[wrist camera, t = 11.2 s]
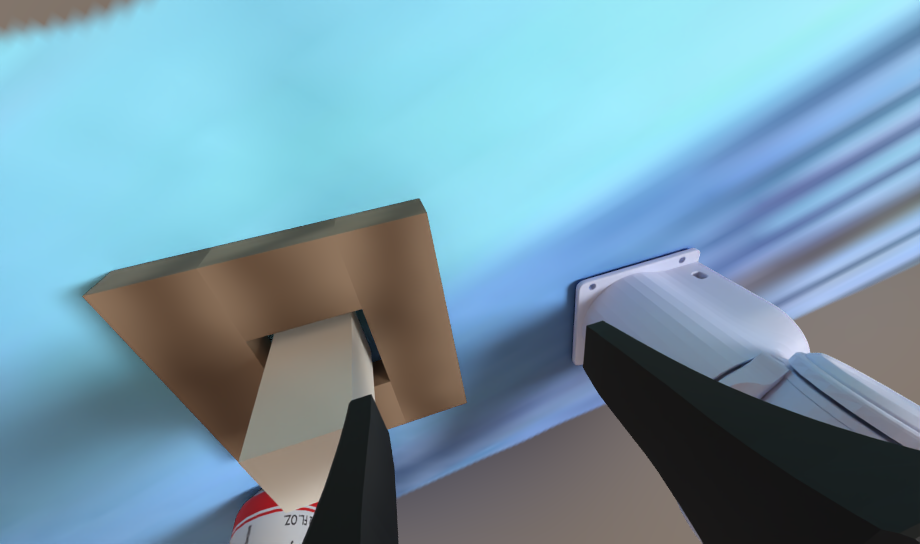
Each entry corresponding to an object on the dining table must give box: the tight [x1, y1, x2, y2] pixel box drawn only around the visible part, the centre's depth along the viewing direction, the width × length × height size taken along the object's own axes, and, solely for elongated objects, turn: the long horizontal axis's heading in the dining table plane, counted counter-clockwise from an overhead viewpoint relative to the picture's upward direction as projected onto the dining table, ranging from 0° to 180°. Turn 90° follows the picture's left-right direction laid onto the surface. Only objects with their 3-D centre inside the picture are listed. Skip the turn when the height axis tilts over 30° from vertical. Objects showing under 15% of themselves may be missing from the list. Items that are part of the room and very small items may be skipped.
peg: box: [238, 311, 375, 513], centre depth 17 cm, size 4×4×8 cm
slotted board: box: [82, 199, 467, 462], centre depth 19 cm, size 14×14×2 cm
